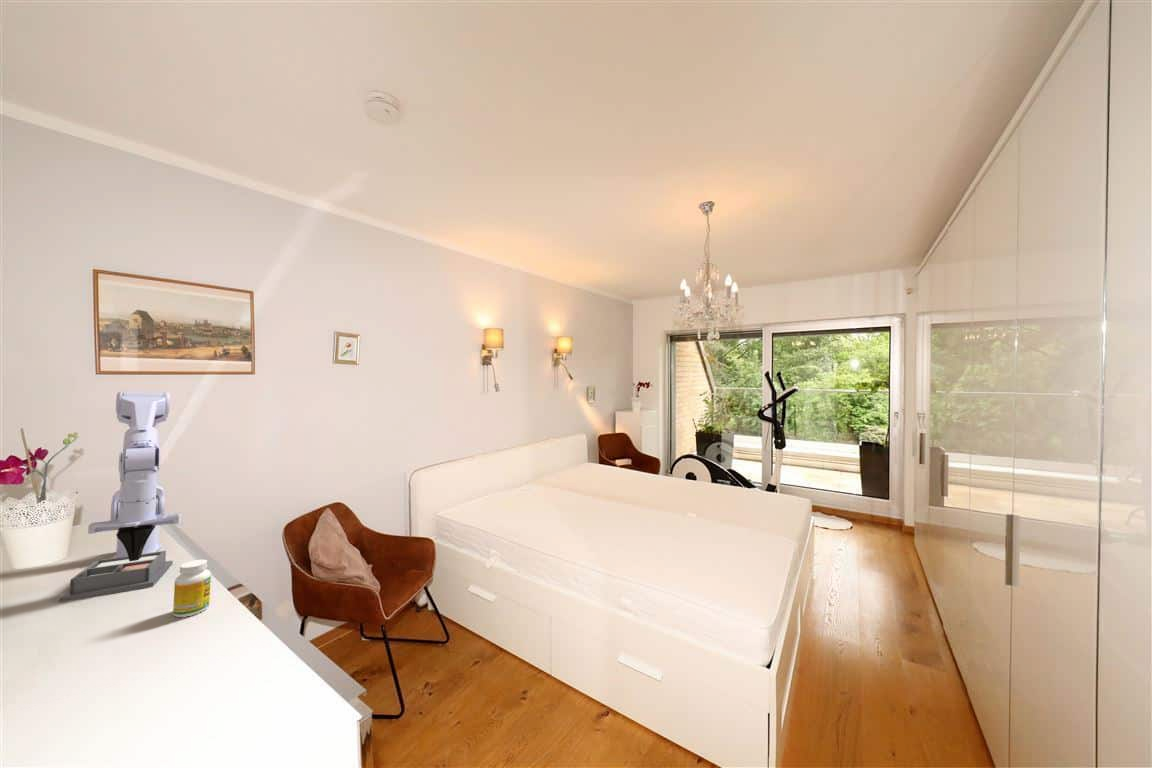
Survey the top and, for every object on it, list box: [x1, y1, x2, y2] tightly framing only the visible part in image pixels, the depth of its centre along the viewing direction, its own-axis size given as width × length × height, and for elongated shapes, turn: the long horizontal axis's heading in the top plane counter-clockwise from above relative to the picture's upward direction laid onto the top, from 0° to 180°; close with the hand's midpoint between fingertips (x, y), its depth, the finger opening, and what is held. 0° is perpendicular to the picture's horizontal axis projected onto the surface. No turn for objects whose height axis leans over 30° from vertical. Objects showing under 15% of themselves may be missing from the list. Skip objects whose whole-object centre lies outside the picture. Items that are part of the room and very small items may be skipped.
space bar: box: [97, 555, 158, 567], centre depth 96 cm, size 4×10×2 cm, turn 122°
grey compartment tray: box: [58, 550, 173, 603], centre depth 93 cm, size 14×14×4 cm
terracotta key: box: [122, 563, 150, 571], centre depth 93 cm, size 4×4×2 cm
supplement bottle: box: [172, 559, 212, 618], centre depth 82 cm, size 5×5×10 cm
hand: (135, 559), depth 93 cm, fingers closed
